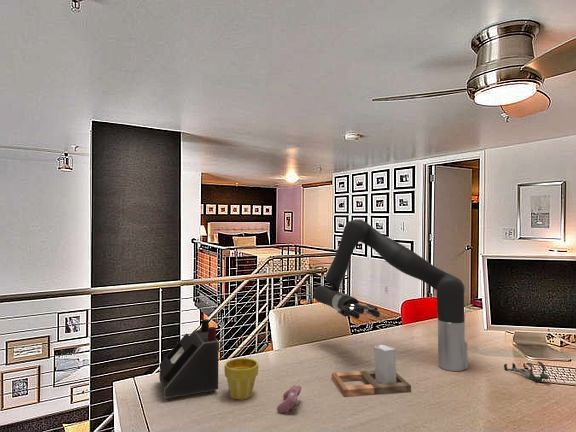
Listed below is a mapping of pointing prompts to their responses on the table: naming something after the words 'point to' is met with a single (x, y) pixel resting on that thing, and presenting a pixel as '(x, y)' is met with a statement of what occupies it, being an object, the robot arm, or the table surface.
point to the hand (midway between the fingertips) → (368, 315)
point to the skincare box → (385, 364)
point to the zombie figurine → (529, 374)
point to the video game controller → (289, 399)
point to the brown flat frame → (368, 384)
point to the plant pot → (241, 377)
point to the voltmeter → (191, 364)
